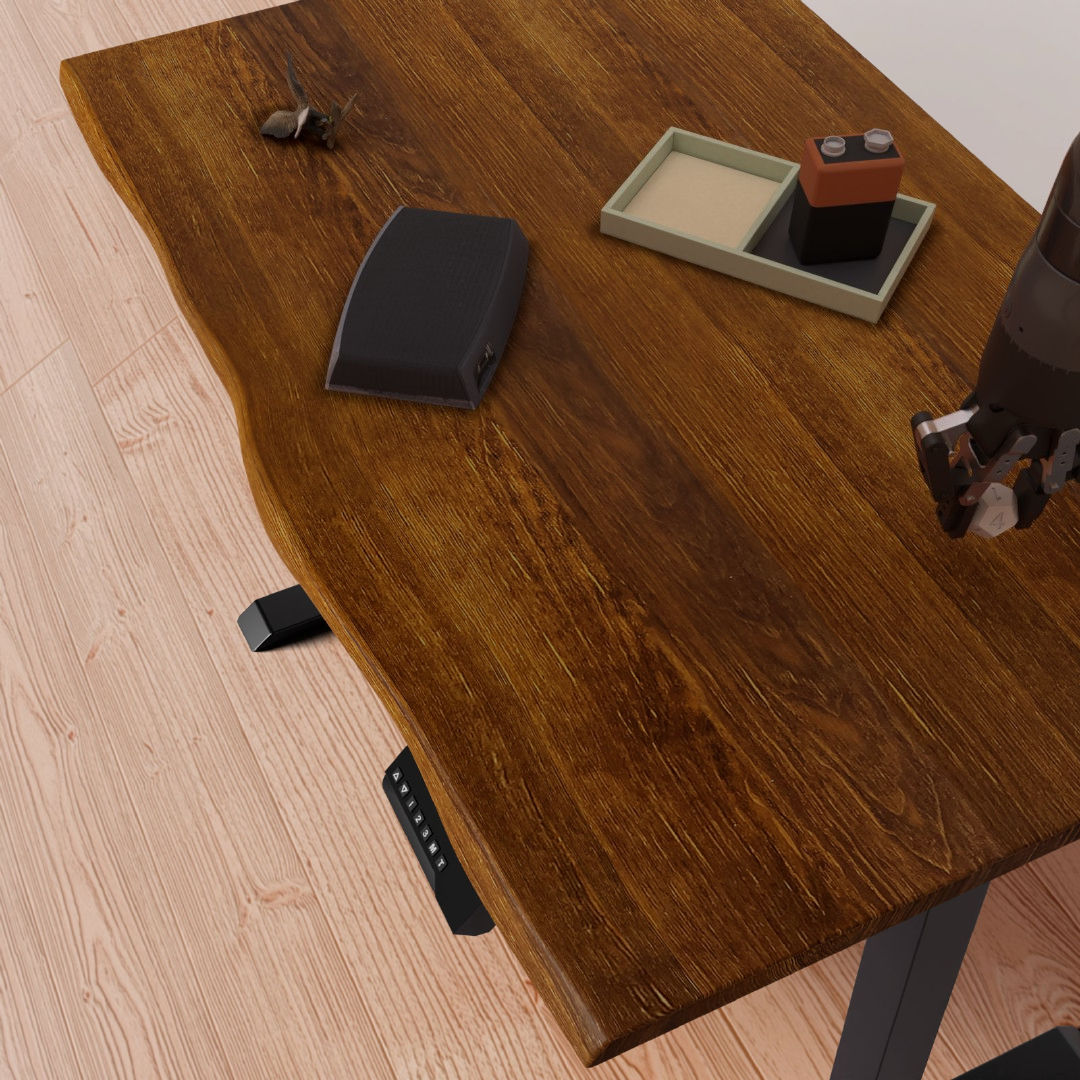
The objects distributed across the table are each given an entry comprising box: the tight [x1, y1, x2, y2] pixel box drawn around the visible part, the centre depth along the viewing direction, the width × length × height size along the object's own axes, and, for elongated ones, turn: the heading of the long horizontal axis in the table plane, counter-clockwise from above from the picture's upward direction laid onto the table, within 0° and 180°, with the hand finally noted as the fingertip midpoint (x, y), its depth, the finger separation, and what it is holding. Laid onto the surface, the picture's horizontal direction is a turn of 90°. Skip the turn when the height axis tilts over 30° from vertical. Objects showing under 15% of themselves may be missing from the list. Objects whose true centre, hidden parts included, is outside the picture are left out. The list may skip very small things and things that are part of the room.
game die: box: [967, 483, 1018, 540], centre depth 72 cm, size 4×4×3 cm
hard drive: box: [324, 205, 530, 411], centre depth 90 cm, size 13×19×4 cm
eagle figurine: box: [259, 50, 359, 150], centre depth 105 cm, size 8×7×9 cm
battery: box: [788, 127, 906, 264], centre depth 91 cm, size 4×7×10 cm, turn 97°
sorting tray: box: [599, 126, 937, 325], centre depth 96 cm, size 24×14×3 cm, turn 61°
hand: (984, 522), depth 73 cm, fingers closed on game die, 3 cm apart
